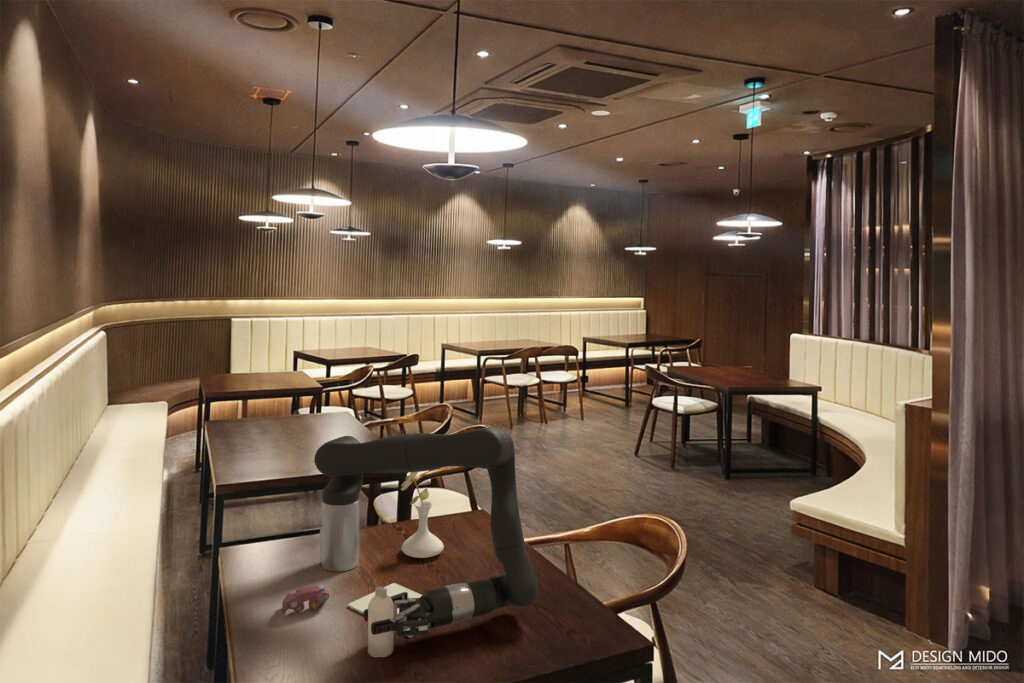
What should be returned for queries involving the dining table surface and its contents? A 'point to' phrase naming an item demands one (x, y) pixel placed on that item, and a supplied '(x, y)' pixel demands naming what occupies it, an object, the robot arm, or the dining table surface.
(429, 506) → the flower in vase
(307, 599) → the video game controller
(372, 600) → the bottle with rectangular cap
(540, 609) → the dining table surface
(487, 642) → the dining table surface
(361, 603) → the cream flat board
